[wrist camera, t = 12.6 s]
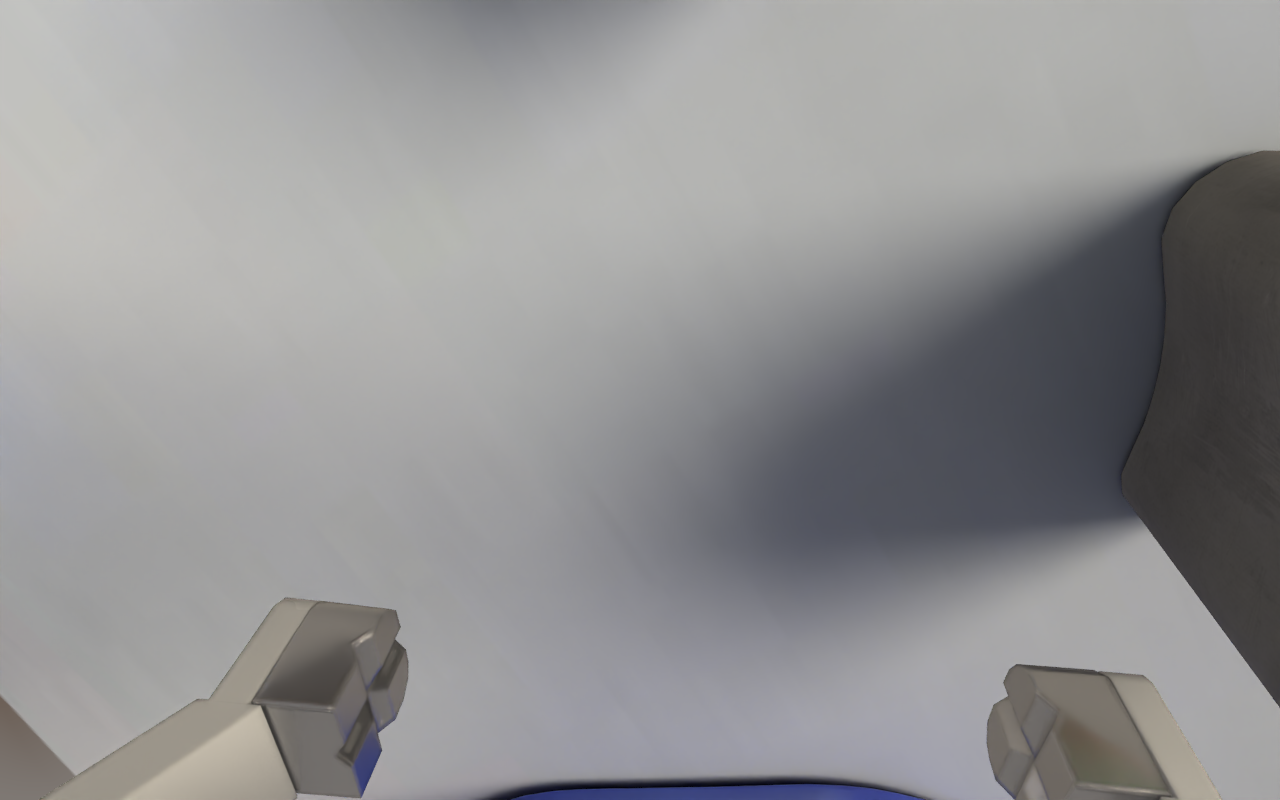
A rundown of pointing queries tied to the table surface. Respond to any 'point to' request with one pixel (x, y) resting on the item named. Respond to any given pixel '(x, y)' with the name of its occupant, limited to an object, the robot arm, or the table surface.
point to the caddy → (725, 793)
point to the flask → (1220, 407)
